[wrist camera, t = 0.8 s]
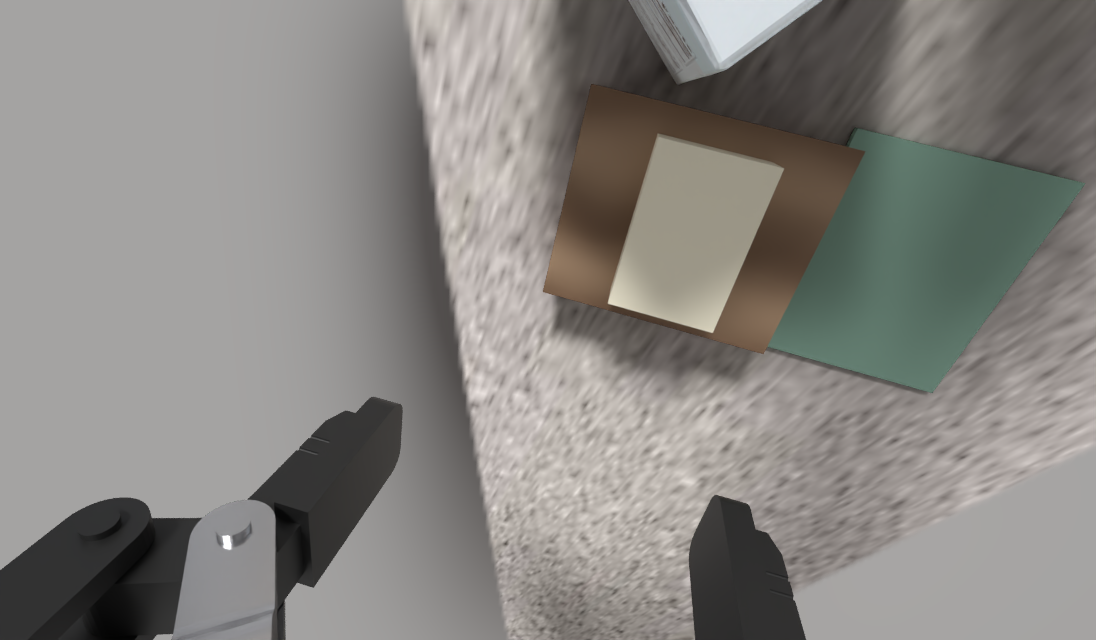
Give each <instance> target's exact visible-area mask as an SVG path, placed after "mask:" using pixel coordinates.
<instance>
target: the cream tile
mask: <svg viewBox="0 0 1096 640" xmlns="http://www.w3.org/2000/svg"><path fill="white" fill-rule="evenodd" d="M783 170H784V168H782V167H780V166H778V165H777V164H775V163H773V162H770V161H766V160H762V159H758V158H754V157H750V156H746V155H742V154H738V153H734V152H730V151H726V150H722V149H718V148H714V147H710V146H706V145H702V144H698V143H694V142H690V141H686V140H682V139H678V138H674V137H670V136H666V135H662V134H657V138H656V141H655V144H654V148H653V151H652V154H651V157H650V161H649V164H648V167H647V171H646V174H645V177H644V180H643V184H642V187H641V190H640V194H639V197H638V200H637V203H636V207H635V210H634V213H633V217H632V220H631V223H630V226H629V230H628V233H627V236H626V240H625V243H624V246H623V249H622V253H621V256H620V259H619V263H618V266H617V269H616V272H615V276H614V279H613V282H612V286H611V290H610V295H609V300H608V304H611V305H615V306H618V307H622V308H625V309H629V310H632V311H636V312H639V313H643V314H647V315H650V316H654V317H657V318H661V319H664V320H668V321H671V322H675V323H679V324H682V325H686V326H689V327H693V328H696V329H700V330H703V331H707V332H711V333H713V331H714V329H715V327H716V324H717V322H718V320H719V318H720V315H721V313H722V311H723V308H724V306H725V304H726V301H727V299H728V297H729V295H730V292H731V290H732V288H733V285H734V283H735V281H736V278H737V276H738V274H739V272H740V269H741V267H742V265H743V262H744V260H745V258H746V255H747V253H748V251H749V249H750V246H751V244H752V242H753V239H754V237H755V235H756V232H757V230H758V228H759V226H760V223H761V221H762V219H763V216H764V214H765V212H766V209H767V207H768V205H769V203H770V200H771V198H772V196H773V193H774V191H775V189H776V186H777V184H778V182H779V180H780V177H781V175H782V173H783Z"/></svg>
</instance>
